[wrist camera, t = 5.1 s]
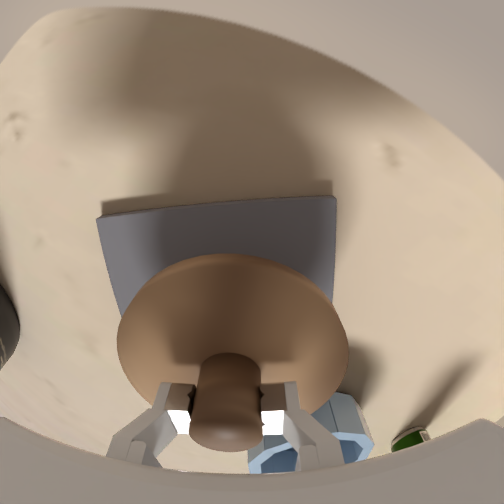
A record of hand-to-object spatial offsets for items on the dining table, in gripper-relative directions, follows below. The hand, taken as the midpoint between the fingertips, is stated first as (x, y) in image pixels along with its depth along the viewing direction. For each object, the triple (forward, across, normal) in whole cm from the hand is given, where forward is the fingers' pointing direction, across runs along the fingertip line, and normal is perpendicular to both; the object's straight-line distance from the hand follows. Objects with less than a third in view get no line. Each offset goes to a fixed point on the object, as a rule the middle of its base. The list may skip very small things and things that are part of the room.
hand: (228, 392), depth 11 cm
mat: (+8, +1, 0) cm, 8 cm away
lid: (+2, 0, 0) cm, 2 cm away
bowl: (+8, -5, +14) cm, 17 cm away
